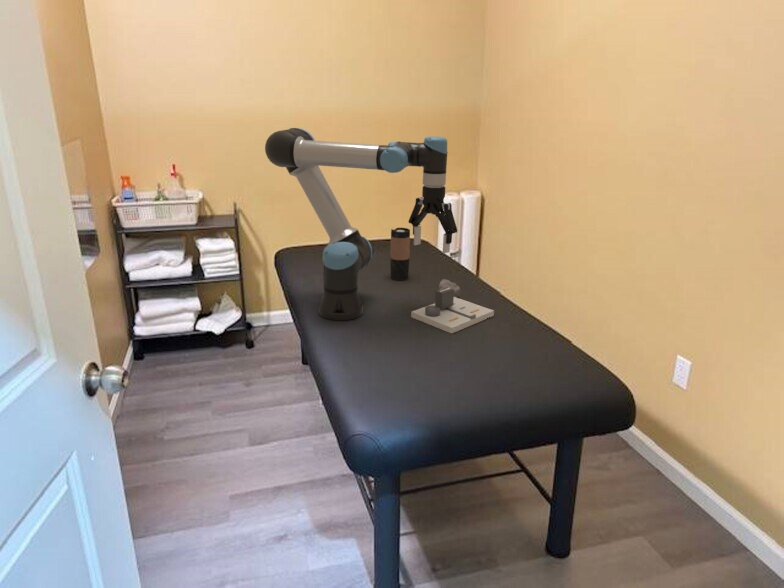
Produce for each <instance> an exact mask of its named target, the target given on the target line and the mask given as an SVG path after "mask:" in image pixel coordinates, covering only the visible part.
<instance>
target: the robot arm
mask: <svg viewBox="0 0 784 588" xmlns="http://www.w3.org/2000/svg"><path fill="white" fill-rule="evenodd" d="M423 140H424V141H423V142H411V141H410V142H409V141H408V142H406V141H390V142H389V143H388V145H386V144H384V145H382V144H381V145H380V144H367V143H355V142H340V141H339V142H337V141H325V140H324V141H322V140H315V137H314V136H313V135H312V134H311V133H310V132H309V131H307V130H305V129H304V128H301V127H299V128H298V127H291V128H288V129H283V130H282V129H281V130H277V131H275V132H273V133H271V134H270V135H269V136H268V138H267V139H266V141H265V146H264V151H265V155H266V157H267V159H268V161H269V162H270V163H272V164H273V165H274V166H277V167H279V168H286V171H287V172H288V174H289V175H290V176H293V177H295V178H296V179H297V181H298V183H299V185H300V187H301V188H302V191H303V192H304V194H305V195H306V197H307V200H308V201H309V202H310V204H311V207H312V209H313V210H314V212H315V214H316V215H317V217H318V219H319V221H320V223H321V225H322V227H323V229H324V230H325V232H326V233H327V234H326V235H328V238H329V241H328V245H326V246H325V247H324V249H323V251H322V258H321V259H322V272H323V273H322V275H323V276H322V278H323V293H322V297H321V300H320V303H319V305H318V313H319V315H320V316H321V317H322V318H324V319H327V320H331V321H350V320H354V319H357V318H359V317H361V316H362V315H364V304H363V302H362V298H361V296H360V293H359V274H360V273H361V272H362V270H364V269H366V268H367V266H368V265H369V263H370V261H371V260H372V257H373V248H372V244H371V242H370V241H369V240H368V239H367V238H366V237H364V236H362V235H361V233H360V231H359V230H358V228H356V227H353V226H352V225H351V223H350V222H349V219H348V218H347V216H346V214H345V212H344V210H343V208H342V207H341V205H340V203H339V202H338V199H337V197H336V196H335V194H334V192H333V190H332V189H331V186H330V184H329V183H328V181H327V179H326V177H325V176H324V173H323V172H322V170H321V169H320V167H319V166H323V167H332V168H333V167H335V168H351V169H362V170H363V169H364V170H365V169H366V170H377V171H386V172H387V173H389V174H394V173H399V172H401V171H403V170H404V169H406V168H407V167H419V168H421V167H422V170H423V171H422V185H423V186H422V189H421V190H422V191H421V195H422V196H421V197H416V198H415V205H414V207H413V209H412V211H411V214H410V216H409V219H408V224H411V226H412V234H413V246H417V245H418V246H419V245H421V240H422V238H421V237H422V225H421V223H422V221H424V219H425V218H426V216H427V215H428V214H431V215H435V217H436V218H438V221H439V223H440V225H441V226H442V229H443V231H444V233H443V235H442V236H443V237H442V238H443V239H442V254H448V253H450V250H451V249H450V248H451V244H452V240H453V234H456V233H458V227H457V225H456V221H455V217H454V214H453V213H454V212H453V210H452V209H453V208H452V206H453V205H452V203H451V202H448V203H445V202H444V200H445V198H446V186H445V185H446V182H447V165H448V163H447V162H448V153H449V152H448V139H447V138H446V137H444V136H426V137H424V139H423Z"/></svg>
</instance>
